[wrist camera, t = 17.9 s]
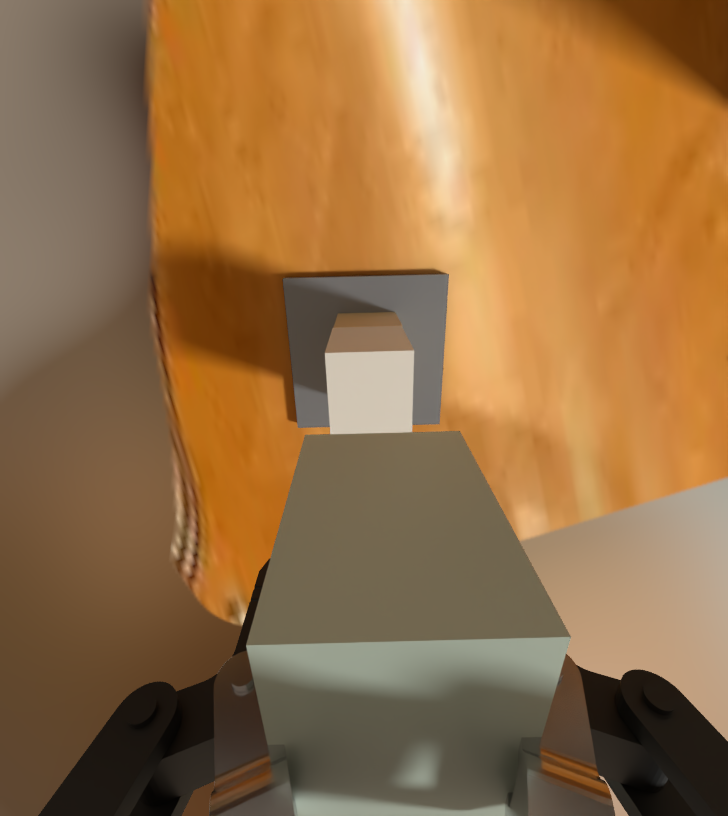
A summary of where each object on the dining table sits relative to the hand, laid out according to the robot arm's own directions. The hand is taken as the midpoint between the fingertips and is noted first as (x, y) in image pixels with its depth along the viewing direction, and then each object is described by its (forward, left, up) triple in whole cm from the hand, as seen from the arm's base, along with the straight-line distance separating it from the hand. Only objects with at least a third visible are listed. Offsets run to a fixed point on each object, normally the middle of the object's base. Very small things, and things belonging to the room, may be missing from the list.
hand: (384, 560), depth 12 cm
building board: (0, 0, -25) cm, 25 cm away
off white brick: (0, 0, -18) cm, 18 cm away
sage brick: (0, 0, -1) cm, 1 cm away
